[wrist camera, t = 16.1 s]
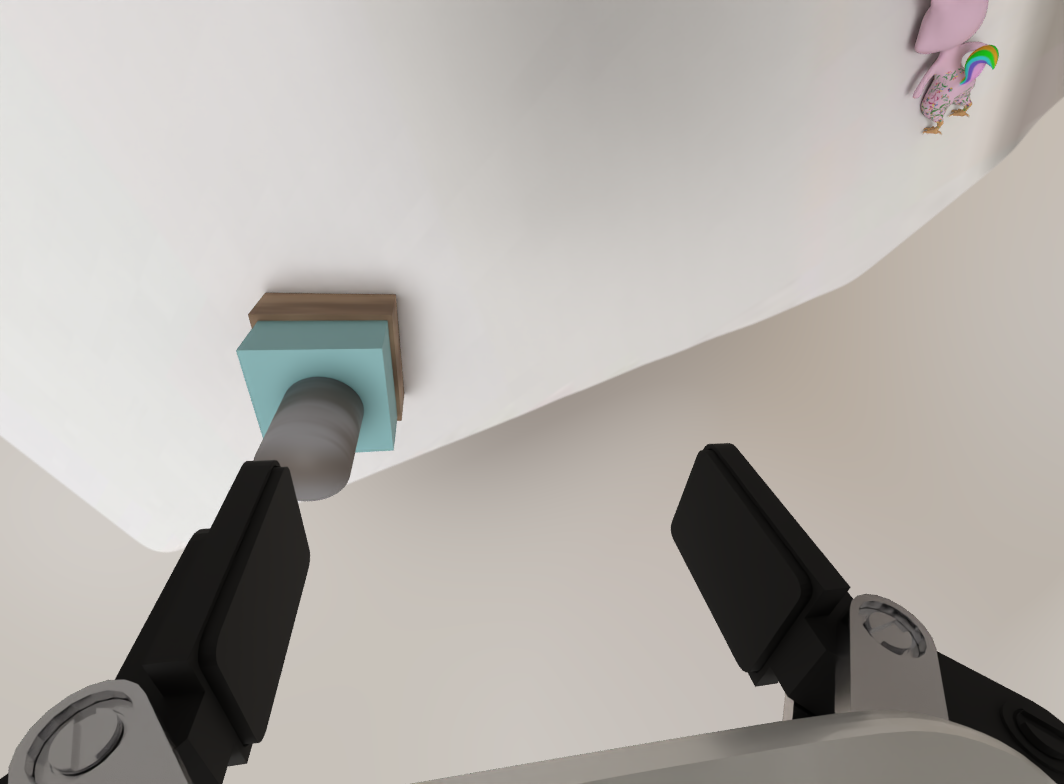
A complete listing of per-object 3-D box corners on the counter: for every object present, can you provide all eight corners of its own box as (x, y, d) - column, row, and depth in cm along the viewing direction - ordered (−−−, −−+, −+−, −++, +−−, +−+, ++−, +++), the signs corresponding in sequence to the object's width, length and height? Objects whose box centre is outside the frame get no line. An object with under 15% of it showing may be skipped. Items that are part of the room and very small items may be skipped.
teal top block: (257, 320, 37) (236, 350, 33) (387, 320, 39) (382, 348, 35) (284, 420, 43) (268, 456, 39) (397, 416, 45) (393, 450, 41)
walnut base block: (266, 291, 41) (248, 314, 37) (396, 292, 43) (392, 314, 39) (291, 395, 47) (278, 425, 43) (404, 392, 49) (401, 420, 45)
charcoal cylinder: (274, 377, 35) (242, 437, 29) (358, 375, 36) (343, 433, 30) (291, 439, 38) (265, 504, 32) (367, 436, 39) (355, 498, 34)
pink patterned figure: (957, 96, 43) (979, -110, 33) (1023, 110, 39) (1071, -122, 29) (891, 139, 44) (893, -46, 34) (948, 157, 40) (969, -49, 30)
